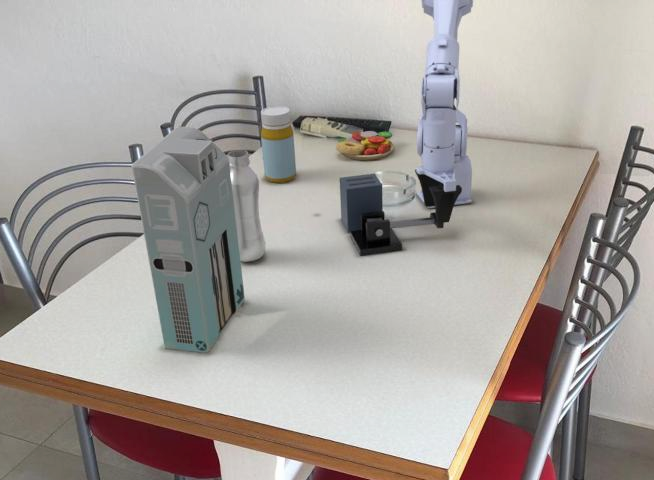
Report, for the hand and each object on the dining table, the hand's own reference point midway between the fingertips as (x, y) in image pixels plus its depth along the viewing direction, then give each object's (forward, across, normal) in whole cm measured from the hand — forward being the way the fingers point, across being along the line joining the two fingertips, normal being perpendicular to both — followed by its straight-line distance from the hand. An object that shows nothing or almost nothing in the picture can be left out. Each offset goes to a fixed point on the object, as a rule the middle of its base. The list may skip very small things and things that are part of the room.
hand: (436, 213), depth 163 cm
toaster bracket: (+4, 0, -12) cm, 13 cm away
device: (+5, +21, -46) cm, 51 cm away
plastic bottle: (+5, -1, -36) cm, 36 cm away
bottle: (+4, -38, -24) cm, 45 cm away
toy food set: (+4, -48, -2) cm, 48 cm away
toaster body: (+4, -9, -12) cm, 16 cm away
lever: (+2, 0, -6) cm, 7 cm away
